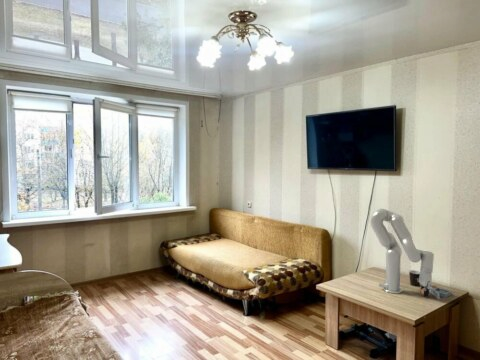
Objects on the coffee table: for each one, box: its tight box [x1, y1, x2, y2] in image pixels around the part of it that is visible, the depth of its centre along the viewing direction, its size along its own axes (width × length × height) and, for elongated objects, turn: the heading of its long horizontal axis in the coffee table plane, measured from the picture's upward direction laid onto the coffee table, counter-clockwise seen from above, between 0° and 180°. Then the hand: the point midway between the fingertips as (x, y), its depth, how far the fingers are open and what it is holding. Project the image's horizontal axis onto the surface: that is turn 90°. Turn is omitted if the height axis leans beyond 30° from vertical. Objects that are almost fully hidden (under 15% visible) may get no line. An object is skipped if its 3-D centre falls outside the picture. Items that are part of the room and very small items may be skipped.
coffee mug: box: [408, 269, 421, 288], centre depth 261 cm, size 12×9×10 cm
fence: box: [429, 286, 441, 300], centre depth 243 cm, size 2×15×4 cm, turn 172°
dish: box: [430, 286, 453, 298], centre depth 244 cm, size 10×10×2 cm
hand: (424, 294), depth 241 cm, fingers closed on ball, 4 cm apart
